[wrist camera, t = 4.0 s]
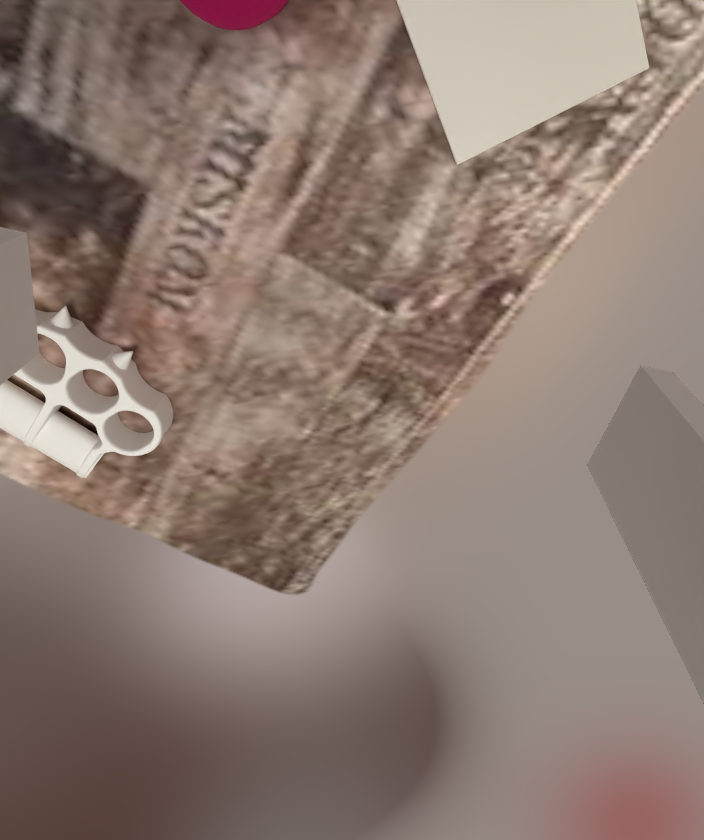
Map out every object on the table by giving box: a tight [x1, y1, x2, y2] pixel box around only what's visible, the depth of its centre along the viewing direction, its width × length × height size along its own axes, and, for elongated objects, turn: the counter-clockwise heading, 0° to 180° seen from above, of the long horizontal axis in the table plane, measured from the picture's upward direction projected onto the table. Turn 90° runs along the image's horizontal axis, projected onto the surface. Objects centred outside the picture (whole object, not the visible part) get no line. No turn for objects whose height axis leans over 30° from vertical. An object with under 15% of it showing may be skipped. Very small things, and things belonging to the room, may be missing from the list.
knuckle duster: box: [0, 305, 173, 478], centre depth 48 cm, size 3×18×15 cm
